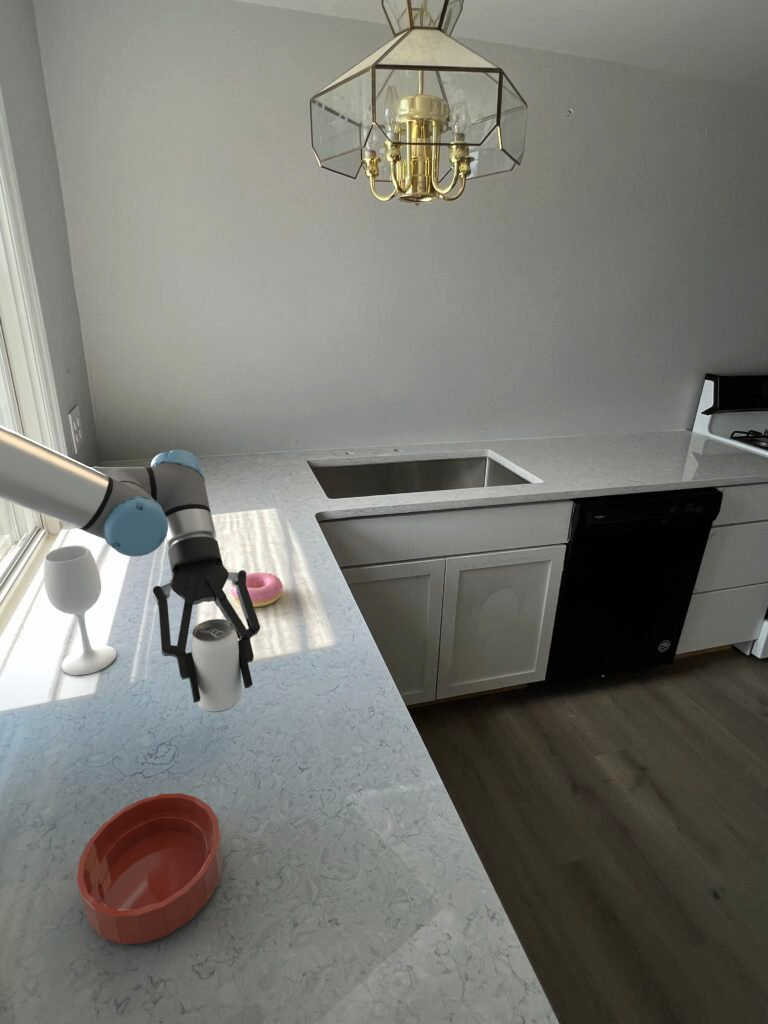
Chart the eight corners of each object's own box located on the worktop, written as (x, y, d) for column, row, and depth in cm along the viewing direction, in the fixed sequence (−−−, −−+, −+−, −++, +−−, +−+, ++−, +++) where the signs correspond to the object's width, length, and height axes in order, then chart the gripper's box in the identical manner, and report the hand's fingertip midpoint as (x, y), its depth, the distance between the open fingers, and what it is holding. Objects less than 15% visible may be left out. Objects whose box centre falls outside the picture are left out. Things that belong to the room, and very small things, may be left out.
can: (220, 679, 87) (214, 612, 82) (251, 694, 84) (246, 625, 79) (187, 703, 81) (178, 633, 77) (219, 720, 78) (212, 648, 74)
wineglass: (68, 682, 93) (42, 570, 86) (57, 657, 99) (32, 551, 92) (122, 662, 98) (102, 555, 91) (108, 640, 105) (89, 538, 97)
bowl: (72, 870, 63) (63, 838, 61) (195, 803, 71) (190, 774, 70) (106, 982, 53) (97, 948, 51) (244, 889, 61) (241, 857, 59)
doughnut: (282, 583, 127) (281, 566, 125) (284, 607, 117) (283, 590, 115) (232, 587, 124) (231, 570, 123) (231, 612, 114) (229, 595, 113)
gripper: (251, 543, 93) (285, 679, 86) (125, 564, 85) (149, 717, 77) (258, 524, 87) (295, 669, 79) (122, 545, 79) (149, 710, 71)
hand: (223, 693), depth 78 cm, fingers closed on can, 6 cm apart
